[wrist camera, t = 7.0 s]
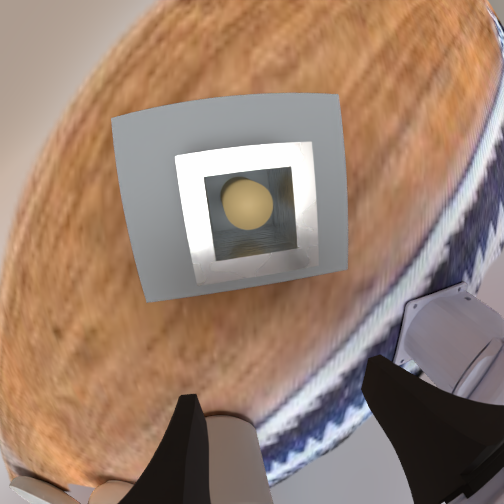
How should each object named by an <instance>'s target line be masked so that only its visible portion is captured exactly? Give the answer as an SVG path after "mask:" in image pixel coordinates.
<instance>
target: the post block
mask: <svg viewBox="0 0 504 504" xmlns="http://www.w3.org/2000/svg"><path fill="white" fill-rule="evenodd" d="M111 121H112V132H113V142H114V151H115V159H116V166H117V173H118V180H119V186H120V192H121V198H122V203H123V208H124V214H125V219H126V223H127V228H128V233H129V237H130V242H131V246H132V250H133V254H134V258H135V262H136V266H137V270H138V274H139V277H140V281H141V285H142V288H143V292H144V295H145V298H146V302H147V303H148V302H156V301H163V300H171V299H178V298H185V297H192V296H199V295H205V294H212V293H218V292H225V291H231V290H237V289H243V288H249V287H255V286H261V285H267V284H273V283H279V282H284V281H290V280H295V279H301V278H306V277H311V276H317V275H322V274H327V273H332V272H337V271H342V270H347V269H348V201H347V178H346V162H345V149H344V138H343V128H342V119H341V111H340V103H339V95H338V94H321V93H268V94H249V95H236V96H226V97H216V98H208V99H201V100H194V101H187V102H181V103H175V104H170V105H165V106H160V107H155V108H150V109H146V110H141V111H137V112H133V113H129V114H125V115H121V116H118V117H114V118H111ZM292 142H312V150H313V161H314V173H315V186H316V202H317V221H318V247H319V266H314V267H309V268H303V269H298V270H292V271H286V272H280V273H275V274H269V275H263V276H257V277H251V278H245V279H239V280H232V281H226V282H220V283H213V284H207V285H200V286H197V282H196V277H195V273H194V268H193V263H192V257H191V252H190V247H189V241H188V236H187V230H186V225H185V219H184V213H183V207H182V200H181V194H180V187H179V181H178V174H177V166H176V159H175V156H179V155H185V154H191V153H197V152H204V151H211V150H218V149H226V148H234V147H243V146H253V145H264V144H276V143H292ZM206 184H207V191H208V198H209V205H210V212H211V219H212V226H213V232H217V231H224V230H231V229H237V228H240V229H244V230H252V229H256V228H259V227H261V226H262V225H265V224H272V215H271V214H272V210H273V200H272V196H271V194H270V193H269V184H268V174H267V169H258V170H249V171H241V172H233V173H225V174H218V175H211V176H206Z"/></svg>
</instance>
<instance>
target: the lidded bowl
mask: <svg viewBox="0 0 504 504" xmlns="http://www.w3.org/2000/svg"><path fill="white" fill-rule="evenodd" d="M133 485H134V484H131V483H128V482H124V481H118V480H108V481H107V482H106V483H104V484H102V485H100V486H98V487H97V488H95V490H94V491H93V492H92V494H91V496H90V498H89V501H88V504H117V503H118V502H119V501H120V500H121V499H122V498H123V497H124V496H125V495H126V494H127V493H128V492H129V490H130V489H131V488H132V487H133Z"/></svg>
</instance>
